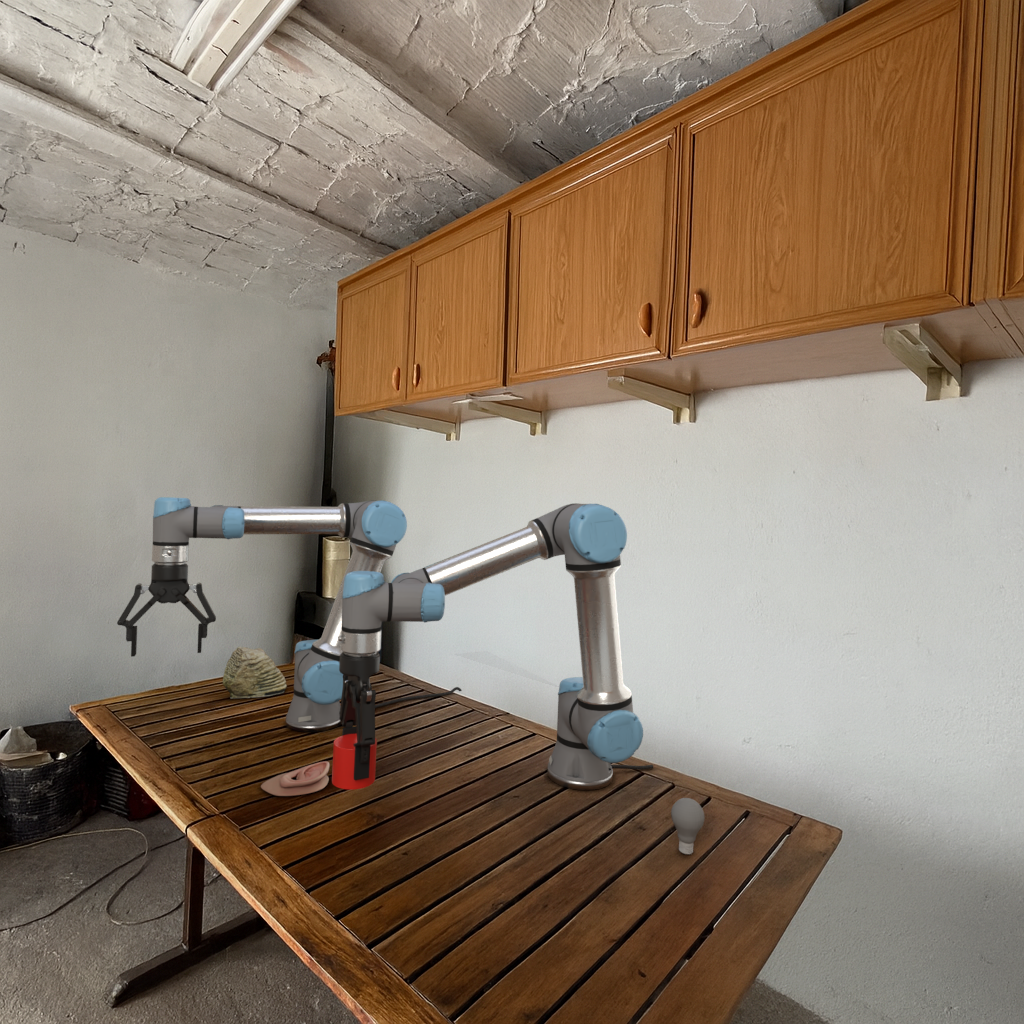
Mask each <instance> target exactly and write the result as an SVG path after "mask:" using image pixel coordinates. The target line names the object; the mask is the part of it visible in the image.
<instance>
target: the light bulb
mask: <svg viewBox="0 0 1024 1024" xmlns="http://www.w3.org/2000/svg"><path fill="white" fill-rule="evenodd" d="M670 816H671V821H672V823H673V825H674V827H675V829H676V833H677V838H678V843H679V844H678V850H679V852H680V853H682V854H684V855H692V854H693V853H694V844H695V843H694V842H695V841H696V838H697V835H698V834H699V832H700V830H701V829H702V827H703V826H704V823H705V818H706V817H705V812H704V809H703V807H702V806H701V805H700V803H699V802H697V800H695V799H693V798H690V797H682V798H680V799H677V800H676V801H675V803H674V804H673V805H672V807H671V810H670Z"/></svg>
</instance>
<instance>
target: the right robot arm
mask: <svg viewBox="0 0 1024 1024" xmlns="http://www.w3.org/2000/svg"><path fill="white" fill-rule="evenodd" d="M627 541H628V531H627V527H626V523H625V521H624V520H623V518H622V517H621V516H620V514H619V513H618V512H617V511H616V510H614V509H613V508H611V507H609V506H606V505H602V504H599V503H576V502H575V503H569V504H565V505H563V506H560V507H558V508H556V509H554V510H552V511H549V512H548V513H545V514H543V515H540V516H539V517H536V518H534V519H531V520H529V521H528V523H527V526H526V527H523V528H520V529H518V530H516V531H513V532H510V533H508V534H505V535H503V536H499V537H498V538H495V539H492V540H490V541H487V542H485V543H482V544H480V545H478V546H474V547H472V548H469V549H467V550H464V551H462V552H459V553H457V554H454V555H452V556H449V557H447V558H444V559H442V560H439V561H437V562H434V563H432V564H429V565H426V566H423V567H422V568H419V569H416V570H413V571H412V572H402V573H399V574H397V575H396V576H394V577H393V579H391V580H390V581H391V582H387V581H385V577H384V574H383V573H382V572H374V571H372V572H371V571H353V572H349V573H348V574H347V575H346V576H345V578H344V587H343V597H342V627H341V633H342V635H341V636H339V637H338V640H339V641H341V650H342V651H343V652H342V653H341V654H340V664H339V671H340V673H342V674H343V689H342V699H341V700H340V706H341V709H340V717H339V719H340V721H342V723H341V727H342V729H341V730H342V732H341V733H342V734H341V736H343V735H347V734H357V743H354V744H353V745H354V747H355V759H354V780H360V779H365V778H369V766H370V746H371V745H373V744H375V738H376V708H375V705H376V695H377V691H376V690H375V689H372V682H371V676H373V675H376V674H378V673H379V671H380V665H381V663H380V661H381V654H380V653H379V652H380V651H381V649H382V623H383V622H388V623H389V622H407V623H409V622H411V623H413V622H415V623H417V622H418V623H429V622H439V621H441V620H442V619H443V618H444V615H445V609H446V608H445V607H446V596H448V595H450V594H453V593H455V592H458V591H460V590H463V589H465V588H468V587H470V586H472V585H475V584H478V583H480V582H482V581H486V580H487V579H490V578H493V577H496V576H498V575H500V574H503V573H505V572H507V571H510V570H513V569H515V568H518V567H519V566H522V565H524V564H527V563H529V562H533V561H534V560H537V559H540V560H543V561H547V560H549V559H551V558H555V557H558V556H564V563H565V571H566V572H567V573H569V574H570V576H572V578H573V581H574V582H573V583H574V585H573V586H574V595H575V606H576V618H577V629H578V630H577V631H578V640H579V651H580V664H581V665H580V666H581V672H582V673H581V674H582V675H581V676H575V677H567V678H564V679H562V680H561V681H560V683H559V686H558V692H557V696H558V698H557V699H558V700H557V724H556V741H555V746H554V747H553V750H552V753H551V754H550V755H549V758H548V763H547V777H548V778H549V779H550V780H551V781H552V782H553V783H555V784H556V785H559V786H562V787H564V788H567V789H571V790H578V791H595V790H601V789H603V788H606V787H608V786H609V785H611V784H612V782H613V778H614V777H613V776H614V775H613V773H614V770H615V769H617V770H619V769H620V770H622V769H623V770H637V771H638V770H651V769H654V765H653V764H645V765H632V764H631V765H628V764H618V763H623V762H625V761H627V760H628V759H630V758H631V757H632V756H633V755H634V754H635V752H636V751H637V750H639V748H640V746H641V745H642V742H643V738H644V726H643V724H642V721H641V720H640V717H639V716H638V715H637V714H636V713H635V712H634V707H633V706H634V705H633V704H634V703H633V696H632V695H633V693H632V691H631V689H630V688H629V687H627V685H625V684H624V674H623V673H624V672H623V662H622V649H621V648H622V647H621V638H620V637H621V636H620V626H619V614H618V602H617V591H616V578H615V576H616V572H618V571H619V569H620V568H621V567H622V562H621V554H622V552H623V551H624V550H625V548H626V546H627V543H628V542H627Z"/></svg>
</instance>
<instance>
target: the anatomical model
mask: <svg viewBox="0 0 1024 1024" xmlns="http://www.w3.org/2000/svg"><path fill="white" fill-rule="evenodd" d="M330 766H331V765H330V762H329V761H327V760H325V761H320V762H316V763H312V764H309V765H306V766H302V767H300V768H298V769H295V770H292V771H289V772H285V773H281V774H278V775H276V776H273V777H271V778H269V779H267V780H266V781H264V782H262V783H261V785H260V788H261V789H262V790H263V791H264V792H266V793H268V794H270V795H273V796H276V797H293V796H300V795H301V796H302V795H307V794H311V793H315V792H318V791H321V790H323V789H324V788H325V787H326V786H328V783H329V781H330V778H329V776H328V773H329V770H330Z"/></svg>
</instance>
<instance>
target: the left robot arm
mask: <svg viewBox="0 0 1024 1024" xmlns="http://www.w3.org/2000/svg"><path fill="white" fill-rule="evenodd" d="M407 530H408V521H407V517H406V515H405V513H404V511H403V509H401V508H400V507H399V506H398V505H397V504H396V503H393V502H391V501H387V500H372V499H371V500H365V501H360V502H349V503H348V502H347V503H346V502H344V503H343V502H342V503H340V504H339V505H338V506H294V505H293V506H287V505H286V506H285V505H284V506H283V505H281V506H279V505H278V506H277V505H276V506H275V505H266V506H265V505H223V504H218V505H217V504H215V505H212V506H194V505H192V504H191V500H190V498H188V497H173V496H171V497H169V496H163V497H161V496H160V497H157V498H156V500H154V503H153V516H152V545H151V546H152V548H151V549H152V550H151V561H152V562H153V564H152V565H151V572H150V573H151V575H150V578H151V579H150V584H142V583H137V584H136V585H135V587H134V592H133V596H131V599H130V600H129V602H128V604H127V605H126V607H125V608H124V610H123V612H122V613H121V615H120V617H119V618H118V620H117V622H116V624H117V625H118V626H122V627H124V628H125V631H126V633H125V640H126V642H130V643H131V644H130V645H131V646H130V657H136V655H137V648H138V647H137V646H138V645H137V643H138V625H135V624H136V623H137V622H138V621H139V620H140V619H141V618H142V617H143V616H144V615H145V614H146V613H147V612H148V611H149V610H150V609H151V608H152V607H153V606H155V604H156V603H157V602H158V603H160V604H167V603H169V604H177V603H179V602H180V603H181V604H182V605H183V606H185V608H186V609H188V611H189V612H190V613H191V614H192V615H193V616H194V617H195V618H196V619H197V620H198V621H199V622H200V623H198V625H197V626H198V629H197V654H202V645H203V644H202V643H203V639H207V637H208V625H209V624H211V623H215V622H216V620H217V616H216V614H215V612H214V610H213V608H212V606H211V604H210V603H209V601H208V599H207V597H206V595H205V593H204V592H203V591H204V590H203V584H202V582H197V583H192V584H189V580H188V579H189V565H188V564H187V562H188V561H189V553H190V539H226V540H231V539H232V540H233V539H241V538H243V537H244V536H245V535H338V536H339V537H340V538H349V539H350V541H349V544H350V547H351V549H352V552H351V556H350V558H349V561H348V563H347V566H346V570H345V572H344V575H343V577H342V579H341V583H340V585H339V588H338V591H337V594H336V595H335V599H334V602H333V604H332V607H331V610H330V613H329V615H328V618H327V620H326V624H325V626H324V629H323V632H322V635H321V637H320V638H319V639H307V640H301V641H298V642H297V643H296V644H295V648H294V649H295V650H294V672H293V673H294V674H293V675H294V676H293V695H292V696H293V697H292V699H291V702H290V704H289V708H288V711H287V713H286V715H285V726H286V728H287V729H289V730H291V731H294V732H295V731H296V732H301V733H316V732H325V731H329V730H332V729H335V728H337V727H339V726H340V725H342V721H340V719H339V717H340V709H341V699H342V689H343V674H342V673H340V671H339V664H340V654H341V653H342V652H343V651H342V650H341V641H339V640H338V637H339V636H341V635H342V633H341V627H342V597H343V587H344V578H345V576H346V575H347V574H348V573H349V572H353V571H371V572H372V571H374V572H380V573H382V569H383V566H384V563H385V562H386V561H387V560H389V559H391V558H393V555H394V552H395V549H396V547H397V545H398V544H399V543H400V542H401V541H402V540H403V538H404V537H405V535H406V533H407ZM190 590H191V591H192V592H193V593H194V594H196V596H197V598H198V600H199V602H200V603H201V606H202V607H203V610H204V611H205V612H206V616H207V617H206V616H205V615H204V614H203V612H201V610H199V609H198V607H197V606H195V604H194V603H193V602H192V600H190V599H189V598H188V597H187V595H186V594H187V593H188V592H189V591H190ZM146 591H149V593H150V594H151V596H152V597H151V598H150V599H149V600H148V601H147V602H146V603H145V604H144V605H143V606H142V607H141V608H140V609H139V610H138V611H137V612H136V613H135V614H134V615H133V616H132V617H131V618H130V619H128V617H129V615H130V614H131V612H132V610H133V609H134V607H135V605H136V603H137V602H138V600H139V598H140V596H141V595H144V594H145V593H146ZM456 691H457V692H462V691H463V690H462V689H461V688H460V687H459V686H456V687H453V688H452V689H450V690H449V691H446V692H445V691H444V692H439V693H429V694H428V693H427V694H420V695H413V696H406V697H401V698H396V699H391V700H388V701H385V702H381V703H378V704H377V703H376V704H375V709H377V708H380V707H385V706H387V705H392V704H395V703H400V702H405V701H411V700H419V699H426V698H434V697H435V698H436V697H442V696H444V697H445V696H449V695H452V694H453V693H455V692H456Z"/></svg>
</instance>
